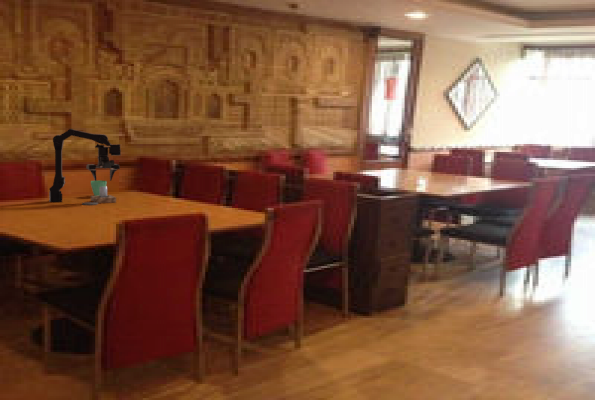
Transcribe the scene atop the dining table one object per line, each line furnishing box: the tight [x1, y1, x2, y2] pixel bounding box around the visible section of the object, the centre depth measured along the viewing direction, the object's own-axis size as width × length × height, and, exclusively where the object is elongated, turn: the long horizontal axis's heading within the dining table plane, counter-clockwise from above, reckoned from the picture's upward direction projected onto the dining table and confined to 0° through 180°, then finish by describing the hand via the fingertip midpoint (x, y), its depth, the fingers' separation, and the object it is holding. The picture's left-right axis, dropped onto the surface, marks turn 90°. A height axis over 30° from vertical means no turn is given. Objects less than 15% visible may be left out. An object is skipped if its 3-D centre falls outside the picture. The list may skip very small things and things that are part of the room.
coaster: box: [81, 201, 99, 206], centre depth 371 cm, size 9×9×1 cm
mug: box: [90, 180, 108, 196], centre depth 406 cm, size 15×10×10 cm
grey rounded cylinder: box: [100, 186, 108, 198], centre depth 383 cm, size 4×4×9 cm
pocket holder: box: [90, 194, 117, 204], centre depth 383 cm, size 12×12×3 cm
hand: (103, 180), depth 382 cm, fingers open, 9 cm apart
